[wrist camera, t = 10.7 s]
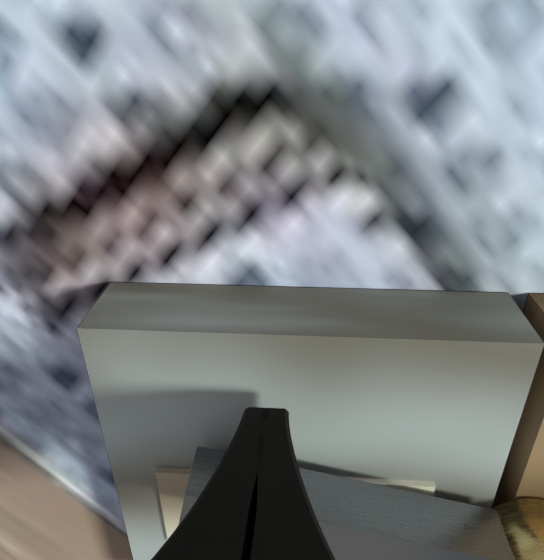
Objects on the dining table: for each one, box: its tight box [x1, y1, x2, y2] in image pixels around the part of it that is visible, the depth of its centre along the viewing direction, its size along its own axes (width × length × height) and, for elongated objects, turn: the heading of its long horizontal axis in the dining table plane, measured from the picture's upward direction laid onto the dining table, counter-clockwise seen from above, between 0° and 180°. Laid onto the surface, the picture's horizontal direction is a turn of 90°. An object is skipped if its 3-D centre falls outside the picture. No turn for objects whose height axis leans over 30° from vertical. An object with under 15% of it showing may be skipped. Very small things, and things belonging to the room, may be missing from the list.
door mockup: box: [77, 282, 544, 560], centre depth 15 cm, size 14×24×5 cm, turn 91°
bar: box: [178, 446, 544, 560], centre depth 14 cm, size 12×3×3 cm, turn 77°
